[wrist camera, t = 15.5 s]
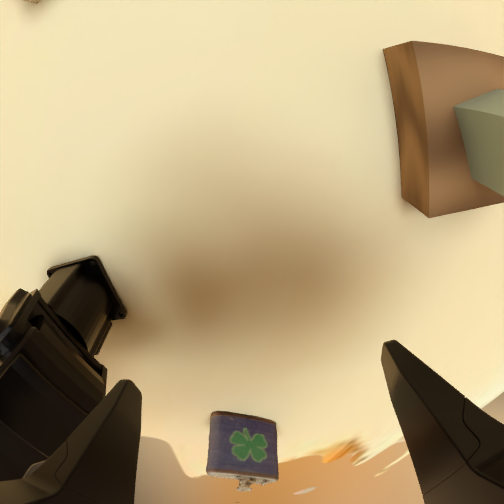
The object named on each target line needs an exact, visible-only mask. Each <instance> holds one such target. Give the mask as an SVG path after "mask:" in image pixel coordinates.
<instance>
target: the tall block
mask: <svg viewBox="0 0 504 504" xmlns="http://www.w3.org/2000/svg"><path fill="white" fill-rule="evenodd" d="M453 107H454V110H455V114H456V117H457V120H458V124H459V127H460V131H461V134H462V138H463V142H464V146H465V150H466V154H467V159H468V163H469V168H470V173H471V179H473V180H475V181H477V182H479V183H481V184H483V185H484V186H486V187H488V188H490V189H492V190H493V191H495V192H497V193H499V194H500V195H502V196H504V89H496V90H493V91H490V92H488V93H485V94H483V95H480V96H478V97H475V98H473V99H470V100H468V101H465V102H463V103H460V104H458V105H456V106H453Z"/></svg>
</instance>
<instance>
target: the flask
mask: <svg viewBox="0 0 504 504" xmlns="http://www.w3.org/2000/svg"><path fill="white" fill-rule="evenodd" d="M212 414H213V415H211V418H210V434H209V449H208V461H207V467H206V472H207V474H208V475H209V476H212V477H221V478H229V479H238V480H239V485H240V486H239V487H237V490H238V491H251V490H252V488H250V487H249V485H251V484H254V483H256V484H259V483H262V484H261V485H265V484H267V483H272V482H276V481H277V480H278V457H277V431H276V422H274V421H272V420H268V419H264V418H260V417H256V416H247V415H243V414H238V413H237V414H236V413H230V412H220V411H216V412H213V413H212ZM258 482H259V483H258Z"/></svg>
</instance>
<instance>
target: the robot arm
mask: <svg viewBox="0 0 504 504" xmlns="http://www.w3.org/2000/svg"><path fill="white" fill-rule="evenodd" d="M92 261H94V262H95V264H94V263H93V262H92ZM47 275H48V277H49V279H48V281H47V282H46V283H45V284H44V285H43V286H42V288H41V289H40V290H39V291H38V289H36V290H34V291H32V292H31V293H29V292H28V291H27V292H26V291H24V290H23V289H21V288H20V289H18V290H17V291H16V292H15V293H14V294H13V295H12V297H11V298H10V299H9V300H8V302H7V303H6V304H5V306H4V307H3V309H2V311H1V312H0V504H134V494H135V481H136V470H137V460H138V451H139V442H140V434H141V408H142V395H141V392H140V390H139V389H138V388H137V387H136V386H135V384H134V383H133V382H132V381H131V380H120V381H119V382H118V383H117V384H116V385H115V386H114V387H113V388H112V390H111V391H110V392H109V393H108V394H107V395H106V396H105V394H106V379H107V368H106V367H105V366H104V365H101V364H100V363H99V362H98V361H97V360H96V359H95V358H94V355H98V354H99V352H100V349H101V347H102V345H103V343H104V341H105V339H106V337H107V334H108V332H109V330H110V328H111V326H112V322H111V320H118V319H124V318H125V317H126V315H127V311H126V310H125V308H124V306H123V304H122V303H121V301H120V299H119V297H118V295H117V294H116V292H115V290H114V288H113V286H112V284H111V282H110V280H109V279H108V277H107V275H106V273H105V271H104V269H103V267H102V265H101V263H100V261H99V259H98V258H97V257H96V256H90V257H87V258H83V259H79V260H76V261H72V262H68V263H65V264H61V265H58V266H54V267H51V268H49V269H48V270H47ZM121 313H122V314H121ZM381 362H382V366H383V370H384V374H385V378H386V382H387V386H388V390H389V394H390V398H391V401H392V404H393V407H394V410H395V413H396V415H397V418H398V421H399V424H400V426H401V429H402V432H403V435H404V438H405V441H406V444H407V446H408V449H409V452H410V456H411V458H412V461H413V465H414V468H415V471H416V474H417V477H418V481H419V484H420V487H421V491H422V494H423V499H424V502H425V504H504V424H502V423H500V422H499V421H497V420H496V419H494V418H493V417H491V416H490V415H488V414H487V413H485V412H484V411H482V410H481V409H480V408H479V407H477V406H476V405H475V404H474V403H472V402H471V401H470V400H469V399H468V398H465V396H464V395H463V394H461V393H460V392H459V391H458V390H457V389H455V388H454V387H453V386H452V385H451V384H449V383H448V382H447V381H446V380H444V379H443V378H442V377H441V376H440V375H438V374H437V373H436V372H435V371H433V370H432V369H431V368H430V367H429V366H427V365H426V364H425V363H424V362H422V361H421V360H420V359H419V358H417V357H416V356H415V355H414V354H412V353H411V352H410V351H409V350H408V349H406V348H405V347H404V346H403V345H401V344H400V343H399V342H398V341H396V340H391V341H387V342H384V344H383V348H382V355H381ZM44 461H45V462H44ZM41 462H44V463H43V464H42V465H41V466H40V467H39V468H37V469H36V470H35V471H34V472H33V473H32V474H31V475H29V476H27V477H25V476H26V474H27V472H28V471H29V469H30V468H31V467H32V466H33V465H35V464H38V463H41ZM24 477H25V478H24Z"/></svg>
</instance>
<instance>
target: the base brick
mask: <svg viewBox="0 0 504 504" xmlns="http://www.w3.org/2000/svg"><path fill="white" fill-rule="evenodd" d="M383 51H384V55H385V60H386V64H387V69H388V74H389V79H390V85H391V90H392V96H393V103H394V109H395V116H396V124H397V133H398V142H399V154H400V167H401V186H402V198H404V199H405V200H406V201H408V202H409V203H410V204H412V205H413V206H414V207H415V208H417V209H418V210H419V211H420V212H422V213H423V214H424V215H425V216H427V217H428V218H432V217H437V216H441V215H446V214H451V213H456V212H460V211H465V210H470V209H475V208H479V207H484V206H489V205H494V204H498V203H503V202H504V196H502V195H500V194H499V193H497V192H495V191H493V190H492V189H490V188H488V187H486V186H484V185H483V184H481V183H479V182H477V181H475V180H473V179H471V173H470V168H469V163H468V159H467V154H466V150H465V146H464V142H463V138H462V134H461V131H460V127H459V124H458V120H457V117H456V114H455V110H454V107H453V106H456V105H458V104H460V103H463V102H465V101H468V100H470V99H473V98H475V97H478V96H480V95H483V94H485V93H488V92H490V91H493V90H496V89H504V57H502V56H499V55H495V54H491V53H487V52H482V51H478V50H473V49H468V48H463V47H457V46H451V45H444V44H437V43H428V42H418V41H410V42H406V43H403V44H399V45H395V46H392V47H388V48H385V49H383Z"/></svg>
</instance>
